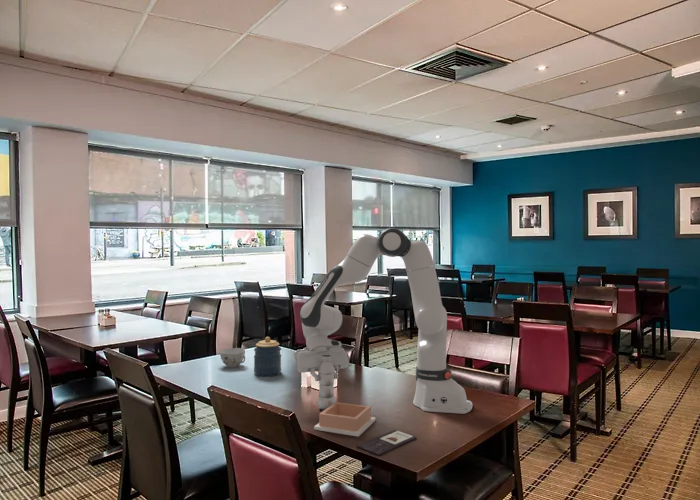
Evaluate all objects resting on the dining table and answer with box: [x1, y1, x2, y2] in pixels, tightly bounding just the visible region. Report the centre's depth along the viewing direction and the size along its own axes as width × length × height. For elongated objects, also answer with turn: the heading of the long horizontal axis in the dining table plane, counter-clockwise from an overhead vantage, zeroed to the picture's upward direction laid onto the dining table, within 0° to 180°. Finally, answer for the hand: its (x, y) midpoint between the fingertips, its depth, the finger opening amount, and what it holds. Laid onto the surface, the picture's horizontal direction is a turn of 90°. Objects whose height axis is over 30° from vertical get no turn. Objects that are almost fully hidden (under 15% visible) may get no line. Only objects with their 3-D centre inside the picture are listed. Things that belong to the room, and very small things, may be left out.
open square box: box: [313, 401, 377, 438], centre depth 168 cm, size 16×16×5 cm
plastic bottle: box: [317, 355, 336, 411], centre depth 184 cm, size 6×7×20 cm
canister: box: [253, 336, 282, 378], centre depth 235 cm, size 13×13×18 cm
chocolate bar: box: [356, 429, 417, 457], centre depth 152 cm, size 9×1×18 cm
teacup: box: [219, 347, 246, 368], centre depth 248 cm, size 15×12×8 cm
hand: (327, 379), depth 183 cm, fingers closed on plastic bottle, 6 cm apart
